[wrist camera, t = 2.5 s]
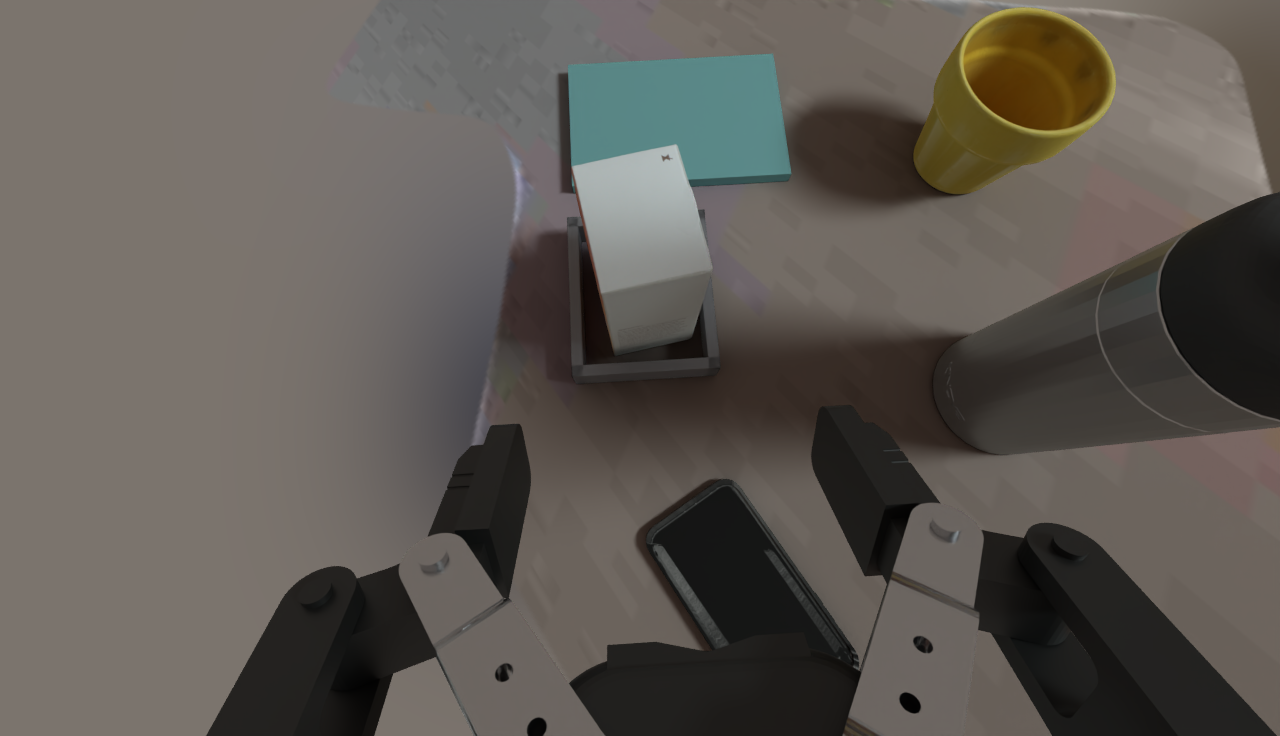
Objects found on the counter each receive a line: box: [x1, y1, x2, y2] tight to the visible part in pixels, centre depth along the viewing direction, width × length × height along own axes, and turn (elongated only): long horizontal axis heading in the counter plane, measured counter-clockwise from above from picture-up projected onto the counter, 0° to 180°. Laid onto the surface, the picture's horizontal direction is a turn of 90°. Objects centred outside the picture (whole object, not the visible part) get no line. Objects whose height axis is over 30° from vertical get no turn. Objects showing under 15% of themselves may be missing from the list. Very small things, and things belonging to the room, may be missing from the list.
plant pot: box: [913, 7, 1116, 194], centre depth 38 cm, size 10×10×10 cm
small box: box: [571, 144, 713, 356], centre depth 34 cm, size 8×6×13 cm
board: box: [568, 54, 791, 193], centre depth 43 cm, size 18×12×1 cm, turn 94°
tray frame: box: [567, 210, 721, 384], centre depth 39 cm, size 11×13×2 cm
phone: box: [646, 479, 859, 670], centre depth 35 cm, size 8×1×15 cm
